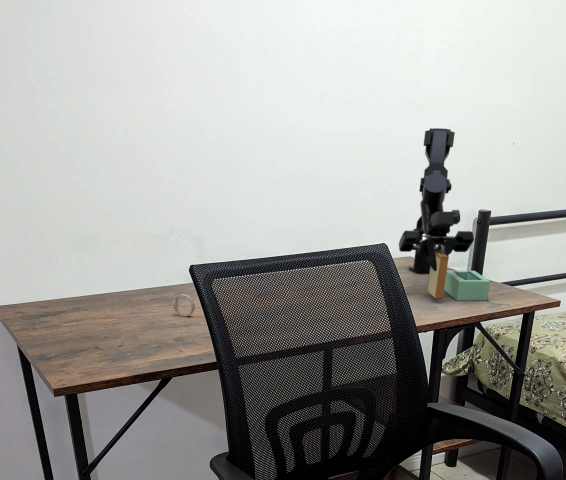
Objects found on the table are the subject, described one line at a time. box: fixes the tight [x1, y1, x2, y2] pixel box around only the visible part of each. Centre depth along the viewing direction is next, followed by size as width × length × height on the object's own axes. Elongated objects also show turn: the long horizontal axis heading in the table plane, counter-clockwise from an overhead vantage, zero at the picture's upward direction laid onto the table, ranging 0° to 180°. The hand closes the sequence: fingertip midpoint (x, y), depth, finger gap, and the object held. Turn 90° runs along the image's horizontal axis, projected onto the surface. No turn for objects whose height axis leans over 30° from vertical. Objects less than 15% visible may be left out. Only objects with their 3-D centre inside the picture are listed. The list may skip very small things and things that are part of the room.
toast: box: [426, 250, 450, 299], centre depth 188 cm, size 8×2×10 cm, turn 7°
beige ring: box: [172, 293, 196, 317], centre depth 169 cm, size 3×5×5 cm, turn 70°
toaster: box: [444, 270, 491, 301], centre depth 194 cm, size 12×10×5 cm
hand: (439, 270), depth 186 cm, fingers closed on toast, 2 cm apart
